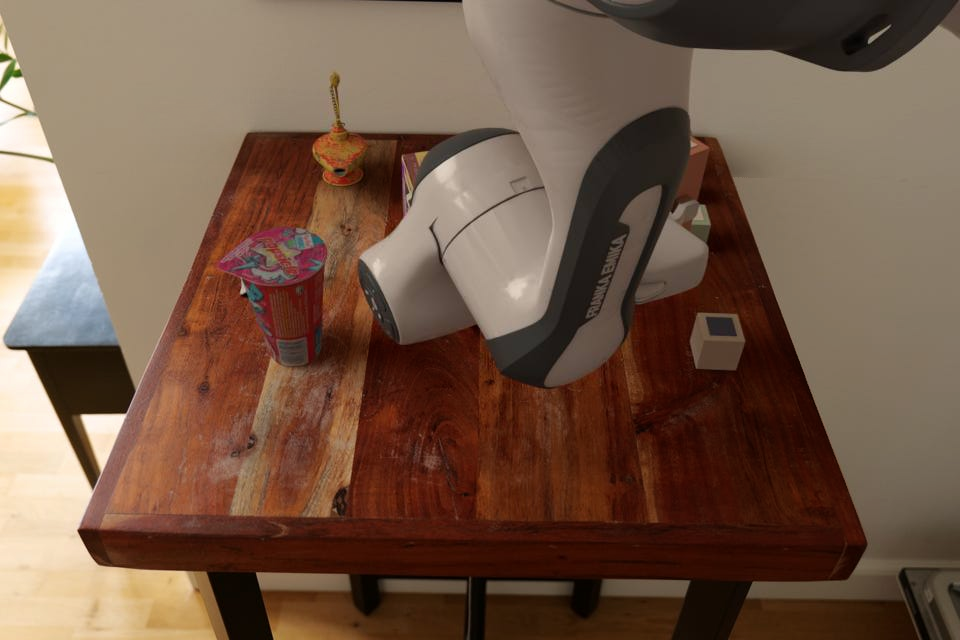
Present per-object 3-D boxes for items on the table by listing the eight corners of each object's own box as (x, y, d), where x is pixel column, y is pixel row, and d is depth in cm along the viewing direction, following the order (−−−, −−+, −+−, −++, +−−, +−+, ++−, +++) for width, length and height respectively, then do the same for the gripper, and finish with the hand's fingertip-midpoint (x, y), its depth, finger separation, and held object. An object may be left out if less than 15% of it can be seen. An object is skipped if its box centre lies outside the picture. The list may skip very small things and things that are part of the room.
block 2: (736, 370, 85) (745, 340, 82) (695, 369, 85) (704, 339, 82) (728, 342, 88) (737, 313, 85) (689, 341, 88) (697, 311, 85)
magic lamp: (315, 226, 101) (305, 144, 93) (315, 146, 114) (306, 69, 106) (374, 222, 102) (368, 141, 94) (367, 143, 115) (361, 66, 107)
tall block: (683, 259, 80) (710, 146, 72) (647, 275, 78) (671, 161, 70) (650, 234, 83) (673, 123, 75) (615, 249, 81) (634, 136, 73)
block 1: (704, 253, 99) (711, 224, 96) (669, 251, 99) (676, 223, 96) (698, 232, 102) (705, 203, 99) (665, 231, 102) (671, 202, 99)
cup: (305, 308, 90) (291, 215, 82) (355, 350, 86) (345, 255, 78) (228, 351, 85) (205, 255, 77) (277, 397, 81) (258, 301, 73)
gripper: (633, 276, 62) (766, 218, 68) (478, 148, 74) (601, 108, 80) (621, 339, 66) (747, 280, 72) (476, 208, 79) (593, 166, 84)
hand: (669, 188), depth 76 cm, fingers closed on tall block, 4 cm apart
